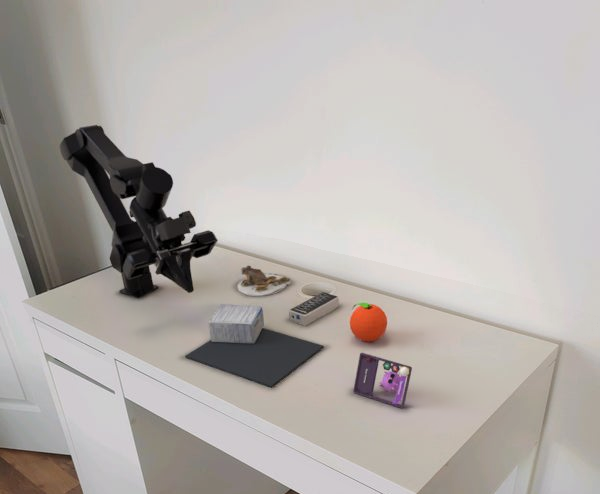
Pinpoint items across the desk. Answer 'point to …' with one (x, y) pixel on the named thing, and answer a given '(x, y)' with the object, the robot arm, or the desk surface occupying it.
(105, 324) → the desk surface
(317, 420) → the desk surface
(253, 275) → the frog figurine
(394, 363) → the game card
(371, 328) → the clementine
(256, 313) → the medicine box
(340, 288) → the desk surface
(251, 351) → the mouse mat
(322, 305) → the multiport hub
